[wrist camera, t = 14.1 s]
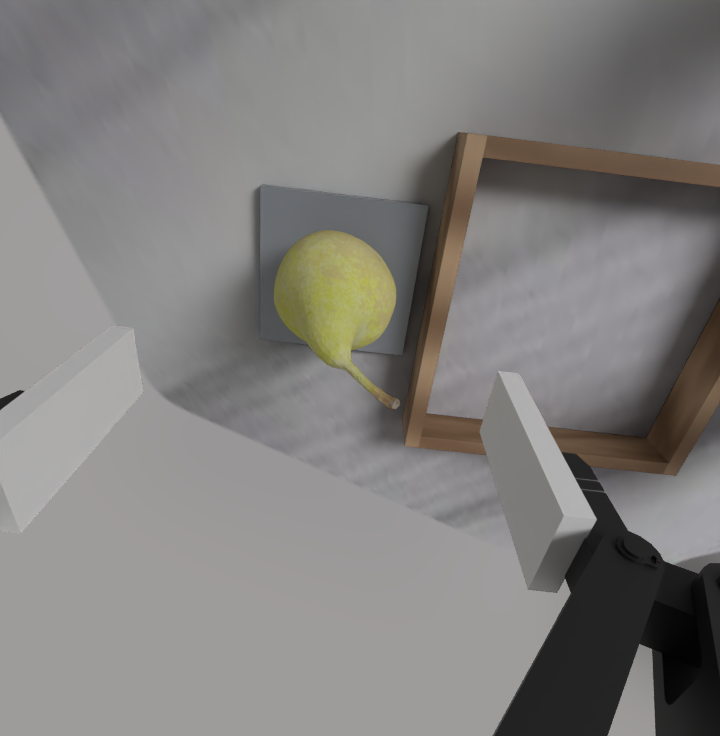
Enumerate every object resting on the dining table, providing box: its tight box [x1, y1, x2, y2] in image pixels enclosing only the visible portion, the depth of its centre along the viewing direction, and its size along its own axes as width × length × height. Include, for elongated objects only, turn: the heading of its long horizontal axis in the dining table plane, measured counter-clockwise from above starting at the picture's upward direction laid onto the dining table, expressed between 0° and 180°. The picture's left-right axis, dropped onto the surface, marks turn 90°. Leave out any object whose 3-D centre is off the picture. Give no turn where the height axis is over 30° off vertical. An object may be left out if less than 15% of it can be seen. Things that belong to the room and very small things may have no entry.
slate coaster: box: [260, 185, 429, 355], centre depth 29 cm, size 10×10×1 cm
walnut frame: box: [403, 132, 720, 476], centre depth 29 cm, size 20×20×3 cm
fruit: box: [274, 230, 400, 410], centre depth 23 cm, size 7×8×12 cm
